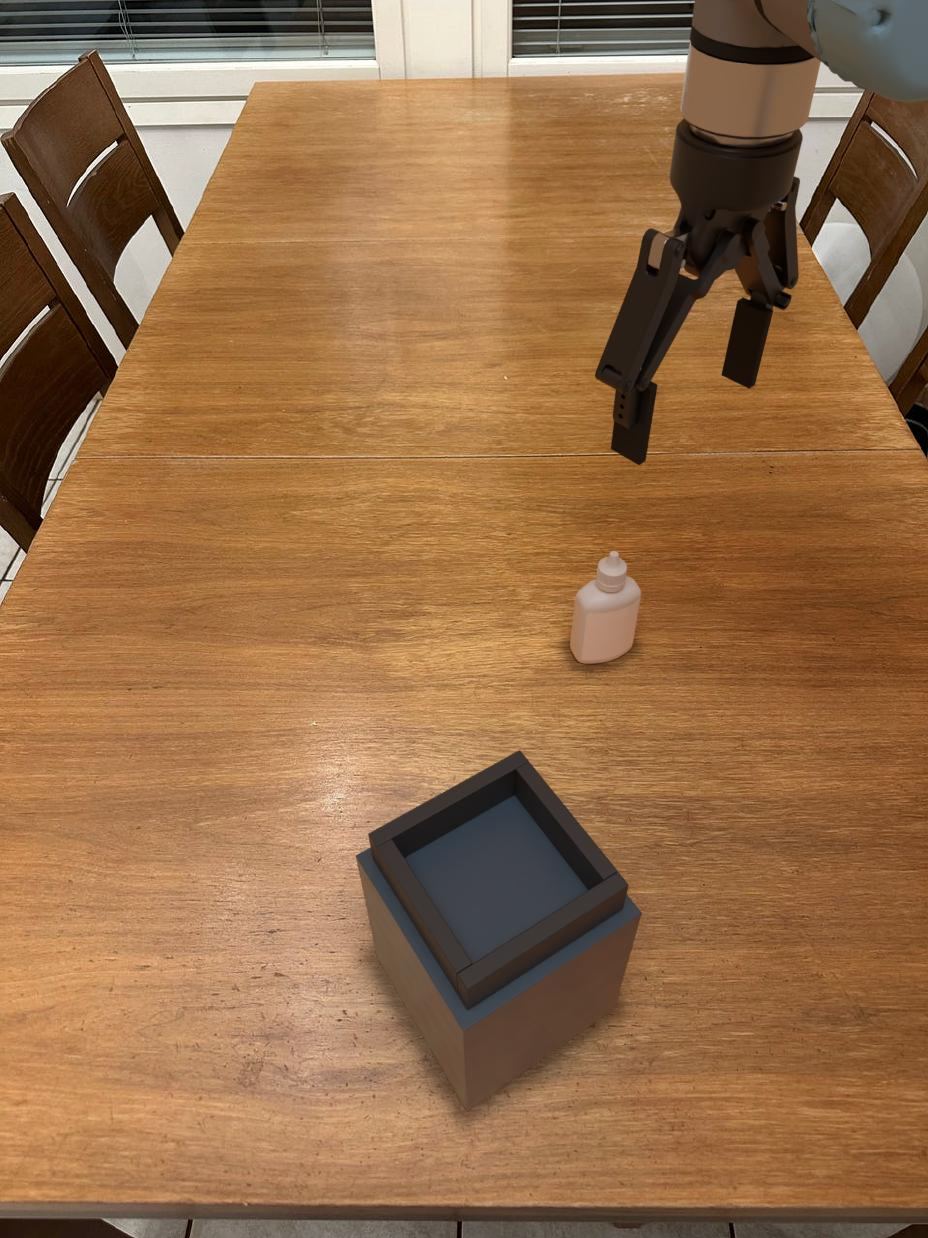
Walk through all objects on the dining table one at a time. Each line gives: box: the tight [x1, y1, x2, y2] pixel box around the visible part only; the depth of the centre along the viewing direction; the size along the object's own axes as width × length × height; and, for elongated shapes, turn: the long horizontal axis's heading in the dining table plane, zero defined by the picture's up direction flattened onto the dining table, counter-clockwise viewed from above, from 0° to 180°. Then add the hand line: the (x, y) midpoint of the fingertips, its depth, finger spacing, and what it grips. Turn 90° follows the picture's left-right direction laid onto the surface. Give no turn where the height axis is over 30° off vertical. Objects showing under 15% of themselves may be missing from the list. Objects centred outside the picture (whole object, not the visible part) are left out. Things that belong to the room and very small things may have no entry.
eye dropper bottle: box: [569, 550, 642, 665], centre depth 82 cm, size 4×6×12 cm
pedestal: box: [355, 749, 643, 1112], centre depth 59 cm, size 12×12×18 cm
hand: (685, 416), depth 73 cm, fingers open, 13 cm apart
